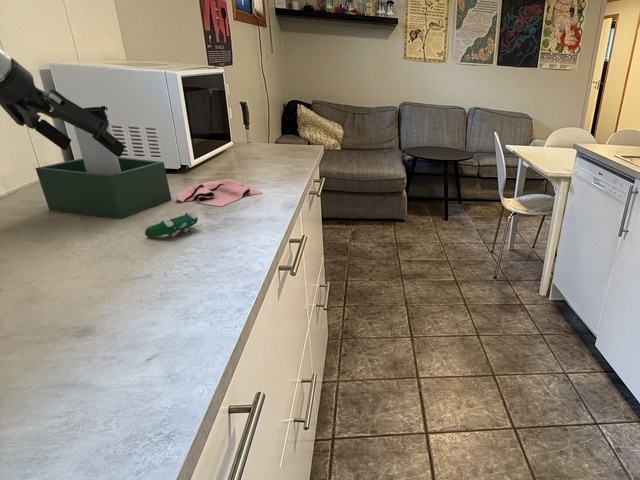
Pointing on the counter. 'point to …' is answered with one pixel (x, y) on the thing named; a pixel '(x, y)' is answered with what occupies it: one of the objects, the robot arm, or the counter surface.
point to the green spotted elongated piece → (172, 225)
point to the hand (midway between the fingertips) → (94, 148)
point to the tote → (104, 188)
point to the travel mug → (97, 148)
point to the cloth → (216, 192)
